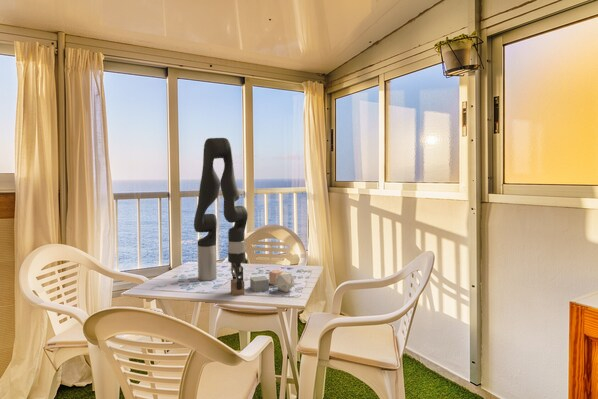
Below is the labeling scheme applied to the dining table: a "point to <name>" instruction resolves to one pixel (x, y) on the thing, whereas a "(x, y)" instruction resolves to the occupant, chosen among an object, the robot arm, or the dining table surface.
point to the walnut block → (234, 288)
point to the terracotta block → (273, 276)
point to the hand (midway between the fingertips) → (237, 287)
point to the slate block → (259, 283)
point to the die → (284, 282)
